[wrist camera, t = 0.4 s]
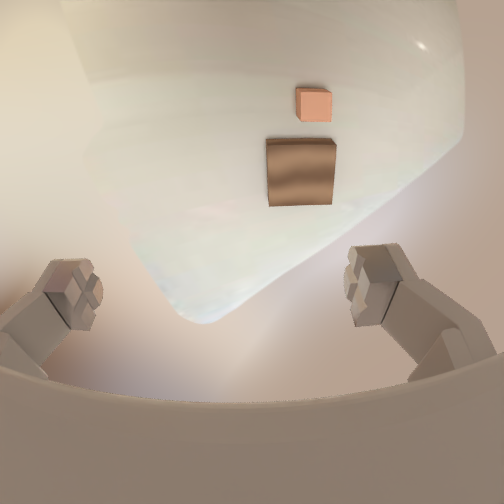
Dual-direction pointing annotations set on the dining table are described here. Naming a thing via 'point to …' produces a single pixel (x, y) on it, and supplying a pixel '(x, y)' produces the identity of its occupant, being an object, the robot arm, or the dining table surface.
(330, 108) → the terracotta cube
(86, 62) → the dining table surface
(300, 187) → the walnut board
